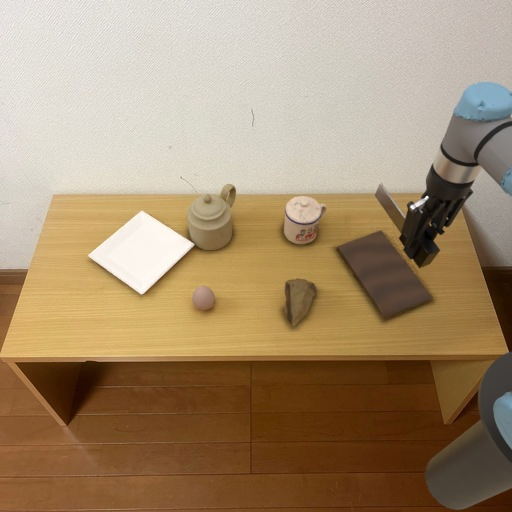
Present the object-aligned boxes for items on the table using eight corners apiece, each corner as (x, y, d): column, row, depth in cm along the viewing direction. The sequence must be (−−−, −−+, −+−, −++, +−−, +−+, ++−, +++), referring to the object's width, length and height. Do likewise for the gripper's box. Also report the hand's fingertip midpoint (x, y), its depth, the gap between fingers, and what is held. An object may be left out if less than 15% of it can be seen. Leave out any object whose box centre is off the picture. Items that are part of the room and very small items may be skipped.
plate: (195, 248, 121) (195, 243, 120) (143, 299, 112) (141, 294, 111) (142, 214, 128) (141, 209, 126) (89, 259, 119) (87, 255, 117)
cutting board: (430, 300, 113) (432, 297, 112) (384, 319, 110) (385, 316, 109) (380, 233, 125) (381, 230, 124) (336, 249, 122) (337, 246, 120)
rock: (309, 270, 115) (272, 281, 111) (327, 269, 107) (288, 281, 103) (320, 313, 115) (283, 326, 112) (338, 316, 107) (300, 329, 104)
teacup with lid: (295, 251, 121) (299, 221, 112) (276, 227, 126) (278, 197, 116) (333, 232, 125) (340, 201, 116) (313, 209, 130) (318, 178, 120)
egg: (189, 311, 111) (186, 295, 105) (198, 293, 113) (196, 277, 108) (210, 317, 110) (208, 302, 104) (218, 299, 112) (217, 284, 107)
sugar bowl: (197, 205, 130) (192, 164, 118) (237, 209, 129) (236, 168, 117) (185, 248, 121) (179, 208, 109) (228, 253, 121) (226, 213, 108)
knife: (369, 196, 108) (376, 180, 103) (380, 193, 109) (387, 177, 104) (419, 268, 99) (428, 254, 94) (430, 264, 100) (440, 250, 95)
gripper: (476, 144, 86) (435, 227, 105) (402, 168, 82) (373, 250, 101) (505, 171, 82) (456, 252, 101) (428, 198, 78) (393, 277, 97)
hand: (415, 251), depth 101 cm, fingers closed on knife, 3 cm apart
